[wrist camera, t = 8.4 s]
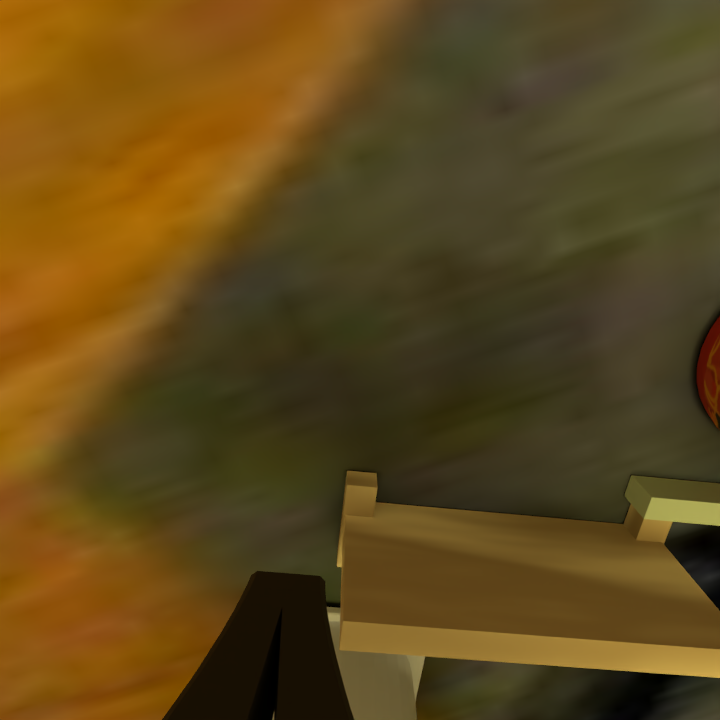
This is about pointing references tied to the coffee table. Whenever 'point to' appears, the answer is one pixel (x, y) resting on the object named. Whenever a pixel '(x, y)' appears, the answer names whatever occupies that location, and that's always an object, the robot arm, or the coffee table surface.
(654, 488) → the bay
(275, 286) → the coffee table surface
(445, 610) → the light wooden block
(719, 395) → the canned food
